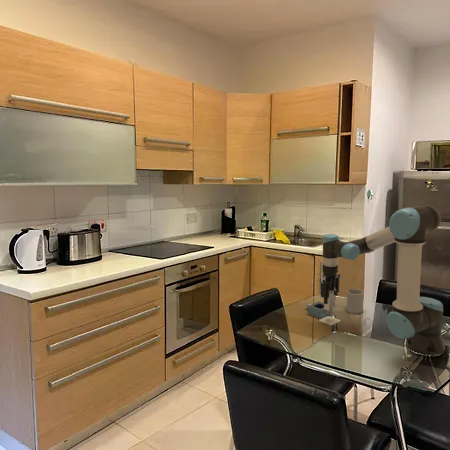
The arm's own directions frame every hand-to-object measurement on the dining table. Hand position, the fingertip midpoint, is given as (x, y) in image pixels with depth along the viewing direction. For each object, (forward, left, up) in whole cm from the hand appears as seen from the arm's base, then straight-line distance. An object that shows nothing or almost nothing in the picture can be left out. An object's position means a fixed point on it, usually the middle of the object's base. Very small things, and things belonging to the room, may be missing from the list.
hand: (329, 308), depth 210 cm
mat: (0, 0, -7) cm, 7 cm away
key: (0, 0, -4) cm, 4 cm away
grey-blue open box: (+11, -3, -7) cm, 14 cm away
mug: (+1, -21, -7) cm, 22 cm away
